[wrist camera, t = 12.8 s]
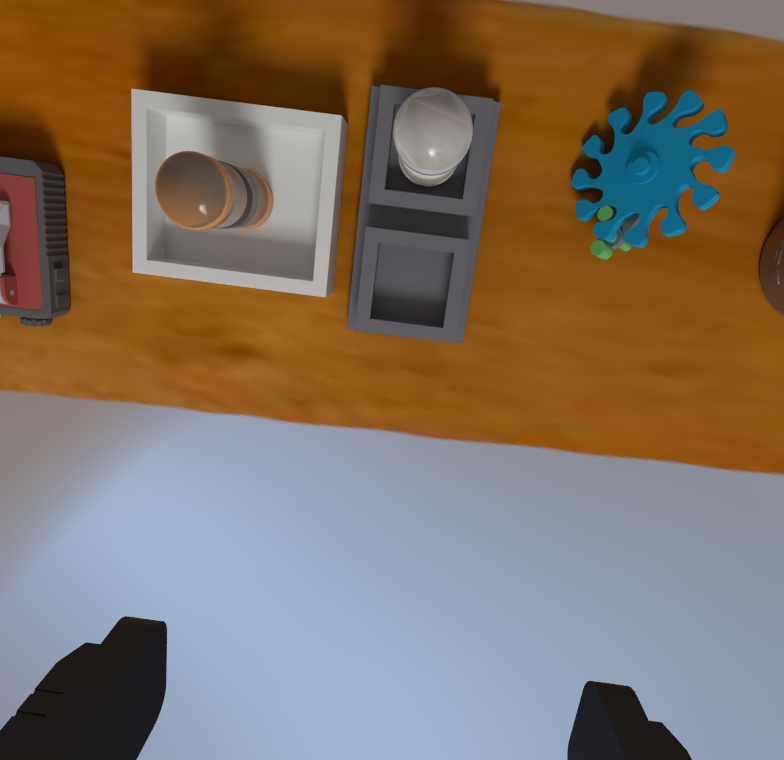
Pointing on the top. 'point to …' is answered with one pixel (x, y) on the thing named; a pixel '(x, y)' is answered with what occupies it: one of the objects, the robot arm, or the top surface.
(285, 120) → the parts tray
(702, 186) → the gear
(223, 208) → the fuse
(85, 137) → the top surface
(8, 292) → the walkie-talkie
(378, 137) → the fuse block
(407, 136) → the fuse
